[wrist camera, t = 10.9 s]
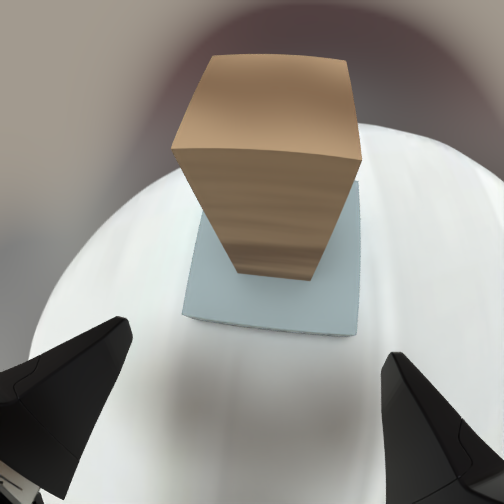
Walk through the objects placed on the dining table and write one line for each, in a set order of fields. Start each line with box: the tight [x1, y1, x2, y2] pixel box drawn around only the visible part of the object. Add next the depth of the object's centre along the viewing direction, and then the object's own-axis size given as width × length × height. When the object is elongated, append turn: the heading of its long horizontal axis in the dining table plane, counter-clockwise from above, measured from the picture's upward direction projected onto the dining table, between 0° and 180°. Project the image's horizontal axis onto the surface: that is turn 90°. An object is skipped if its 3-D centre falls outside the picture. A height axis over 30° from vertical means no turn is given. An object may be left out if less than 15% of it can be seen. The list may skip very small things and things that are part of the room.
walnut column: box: [171, 54, 362, 281], centre depth 13 cm, size 5×5×13 cm
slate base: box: [182, 181, 360, 337], centre depth 21 cm, size 12×12×3 cm
